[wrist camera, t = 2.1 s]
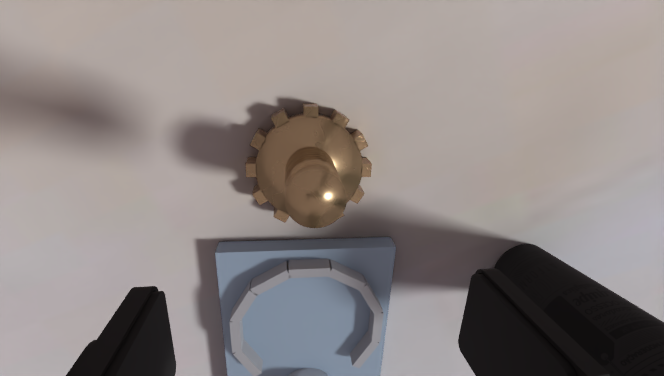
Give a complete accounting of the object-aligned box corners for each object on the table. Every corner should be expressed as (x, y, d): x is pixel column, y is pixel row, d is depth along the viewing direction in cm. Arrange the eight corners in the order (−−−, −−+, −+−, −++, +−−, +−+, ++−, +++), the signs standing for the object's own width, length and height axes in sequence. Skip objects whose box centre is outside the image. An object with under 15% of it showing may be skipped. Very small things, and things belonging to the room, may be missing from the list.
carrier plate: (219, 241, 25) (206, 274, 21) (390, 236, 26) (407, 266, 23) (234, 407, 31) (227, 455, 27) (372, 395, 32) (383, 438, 29)
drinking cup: (477, 312, 30) (777, 709, 12) (477, 240, 27) (873, 618, 9) (556, 293, 31) (966, 649, 12) (564, 220, 28) (1117, 543, 9)
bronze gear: (245, 101, 21) (228, 119, 15) (370, 105, 22) (402, 122, 16) (251, 217, 24) (239, 270, 18) (362, 215, 25) (385, 264, 19)
